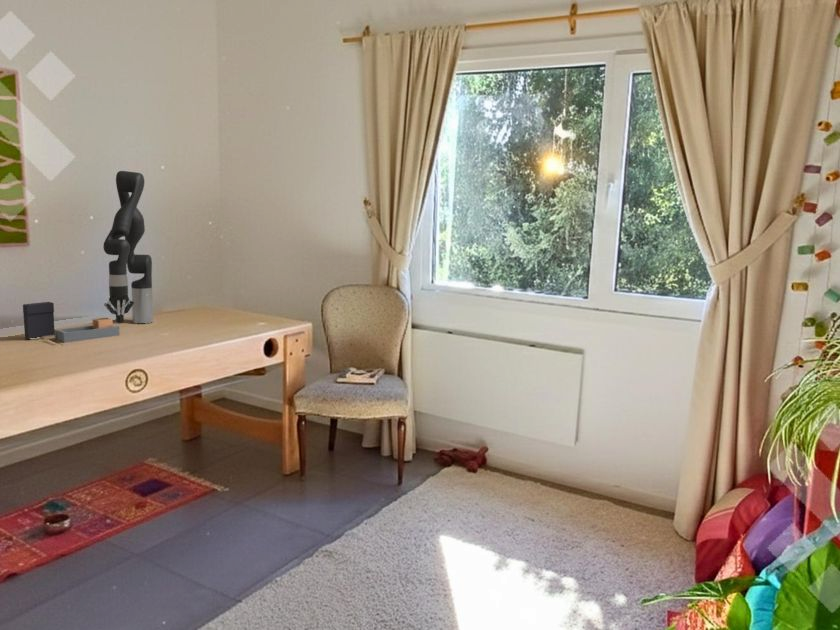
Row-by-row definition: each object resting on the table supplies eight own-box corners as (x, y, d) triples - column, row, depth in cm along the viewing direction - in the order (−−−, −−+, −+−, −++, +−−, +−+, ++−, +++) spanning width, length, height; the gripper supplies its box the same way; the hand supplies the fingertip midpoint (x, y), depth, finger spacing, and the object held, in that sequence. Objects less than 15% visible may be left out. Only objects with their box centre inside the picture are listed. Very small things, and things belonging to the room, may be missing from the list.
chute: (51, 340, 276) (50, 329, 275) (112, 332, 296) (112, 322, 295) (63, 345, 268) (62, 334, 268) (125, 337, 288) (125, 326, 287)
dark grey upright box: (50, 335, 287) (48, 301, 284) (55, 336, 284) (53, 302, 282) (24, 339, 278) (21, 304, 275) (28, 340, 275) (26, 305, 273)
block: (93, 334, 286) (92, 319, 285) (106, 333, 291) (106, 317, 289) (99, 337, 282) (98, 321, 281) (113, 335, 287) (112, 319, 286)
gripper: (128, 282, 296) (130, 320, 299) (99, 284, 286) (101, 323, 289) (137, 284, 291) (138, 322, 294) (107, 286, 281) (109, 326, 284)
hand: (120, 323), depth 291 cm, fingers closed
